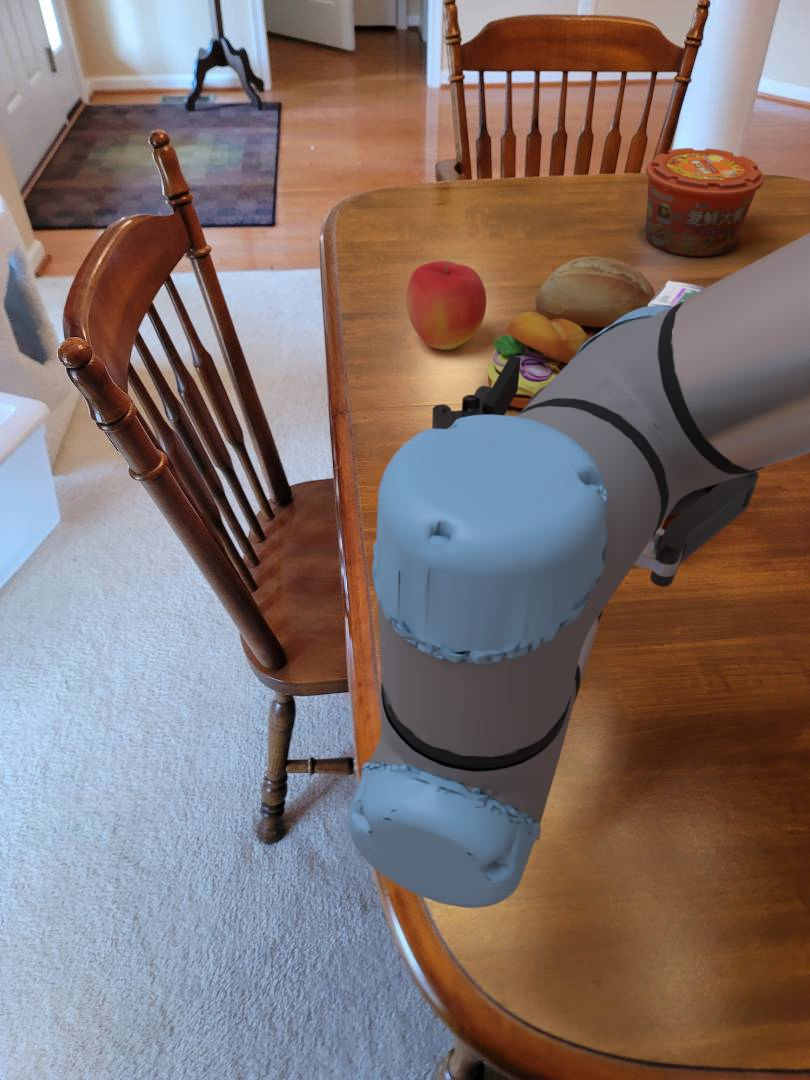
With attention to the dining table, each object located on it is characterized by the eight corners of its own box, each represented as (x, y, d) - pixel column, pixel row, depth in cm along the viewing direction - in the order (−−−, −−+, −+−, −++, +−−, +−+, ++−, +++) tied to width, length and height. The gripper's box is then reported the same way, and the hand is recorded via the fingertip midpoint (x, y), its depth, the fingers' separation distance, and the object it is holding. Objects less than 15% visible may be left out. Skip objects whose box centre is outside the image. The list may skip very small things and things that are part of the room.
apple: (477, 368, 98) (482, 288, 91) (397, 360, 99) (397, 280, 92) (487, 328, 105) (493, 251, 98) (413, 321, 106) (413, 244, 99)
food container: (613, 228, 127) (625, 154, 120) (699, 212, 132) (716, 140, 124) (677, 271, 116) (695, 193, 109) (768, 251, 121) (791, 175, 113)
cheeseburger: (461, 387, 94) (481, 301, 89) (526, 377, 101) (548, 296, 95) (523, 427, 88) (549, 337, 83) (588, 413, 95) (616, 329, 89)
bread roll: (654, 347, 101) (668, 285, 96) (531, 336, 103) (537, 275, 98) (652, 310, 108) (665, 250, 103) (536, 300, 110) (542, 241, 105)
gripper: (316, 589, 49) (438, 402, 64) (759, 716, 42) (783, 474, 57) (305, 491, 44) (440, 311, 58) (806, 617, 37) (819, 379, 52)
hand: (609, 391), depth 58 cm, fingers open, 13 cm apart
